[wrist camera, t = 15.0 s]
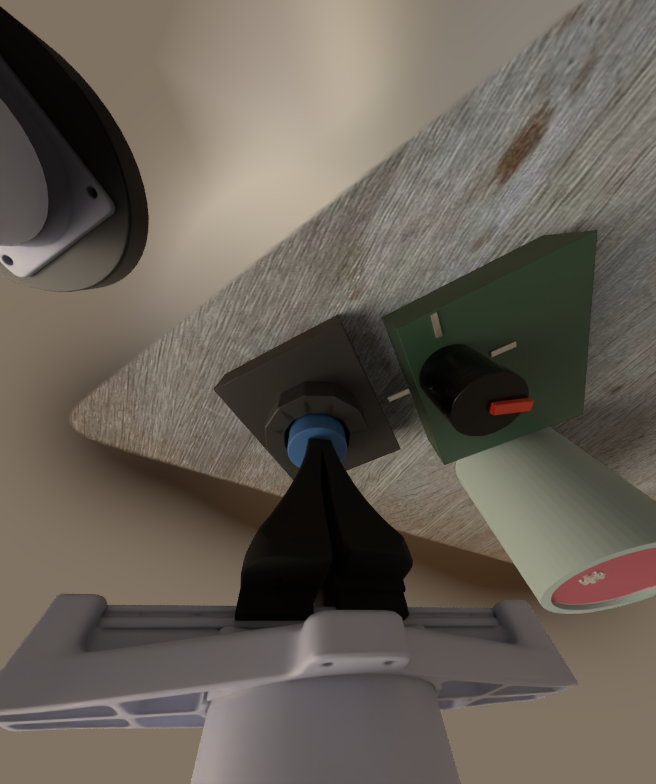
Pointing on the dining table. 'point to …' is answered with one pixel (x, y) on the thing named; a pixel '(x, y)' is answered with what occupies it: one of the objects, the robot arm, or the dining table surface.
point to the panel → (507, 334)
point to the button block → (309, 395)
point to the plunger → (315, 435)
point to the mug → (565, 522)
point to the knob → (473, 390)
